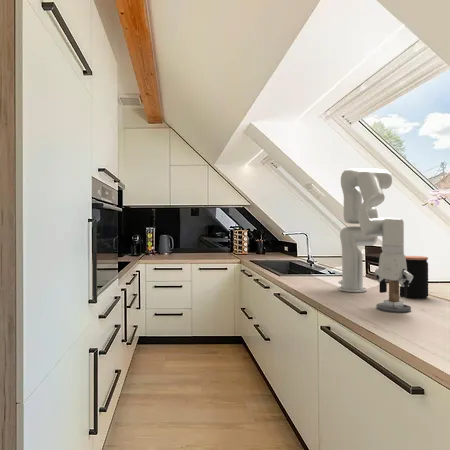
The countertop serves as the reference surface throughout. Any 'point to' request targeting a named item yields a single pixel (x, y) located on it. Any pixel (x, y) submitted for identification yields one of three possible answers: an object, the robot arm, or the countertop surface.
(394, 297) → the tan wooden beam
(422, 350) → the countertop surface
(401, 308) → the round metal socket base
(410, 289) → the coffee jar
